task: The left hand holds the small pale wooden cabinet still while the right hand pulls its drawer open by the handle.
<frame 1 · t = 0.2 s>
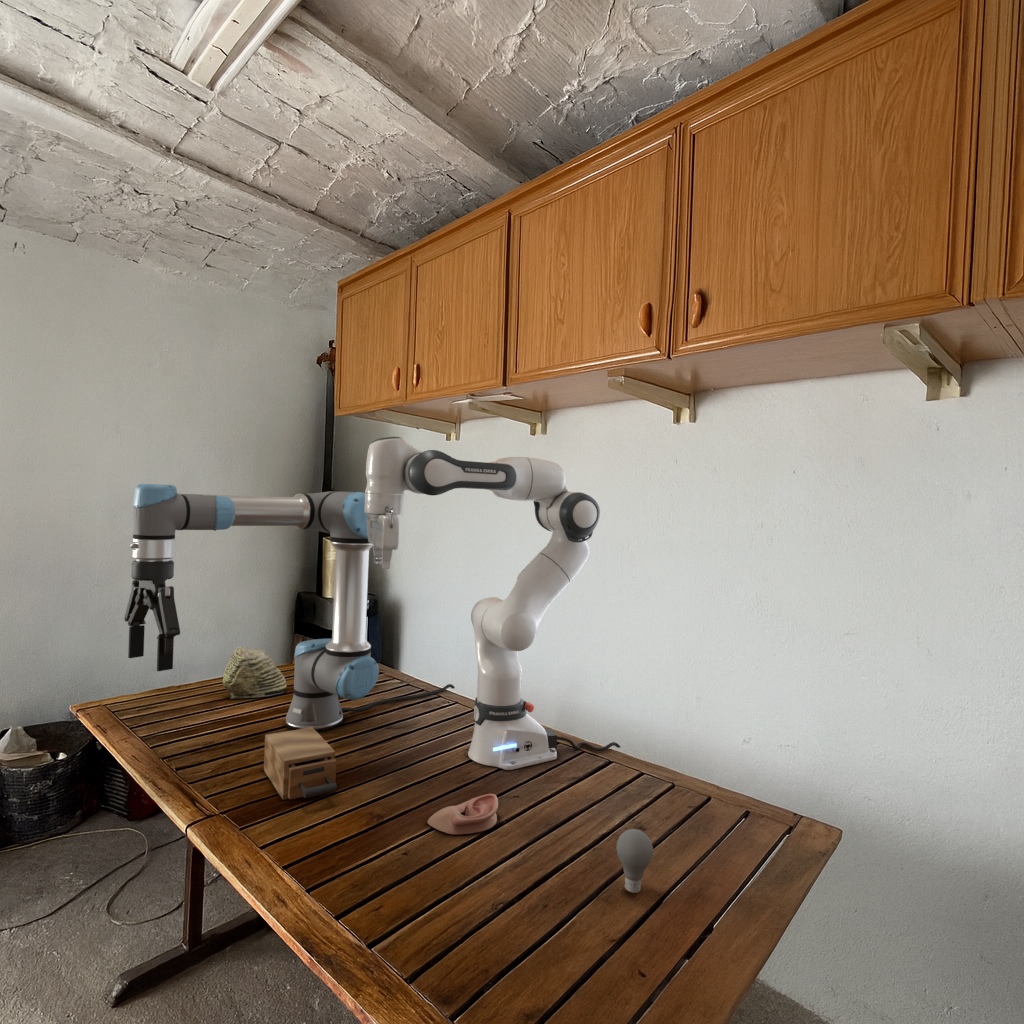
left hand: (149, 663, 129), 28 cm above the table, tool pointing down, fingers open, 13 cm apart
right hand: (381, 566, 147), 48 cm above the table, tool pointing down, fingers open, 8 cm apart
anatomical model: (463, 821, 126), on the table
fossil: (254, 694, 198), on the table
drawer: (306, 770, 137), point 4 cm above the table, slide at 1.4 cm
light bulb: (632, 891, 106), on the table
cabinet: (297, 779, 142), on the table
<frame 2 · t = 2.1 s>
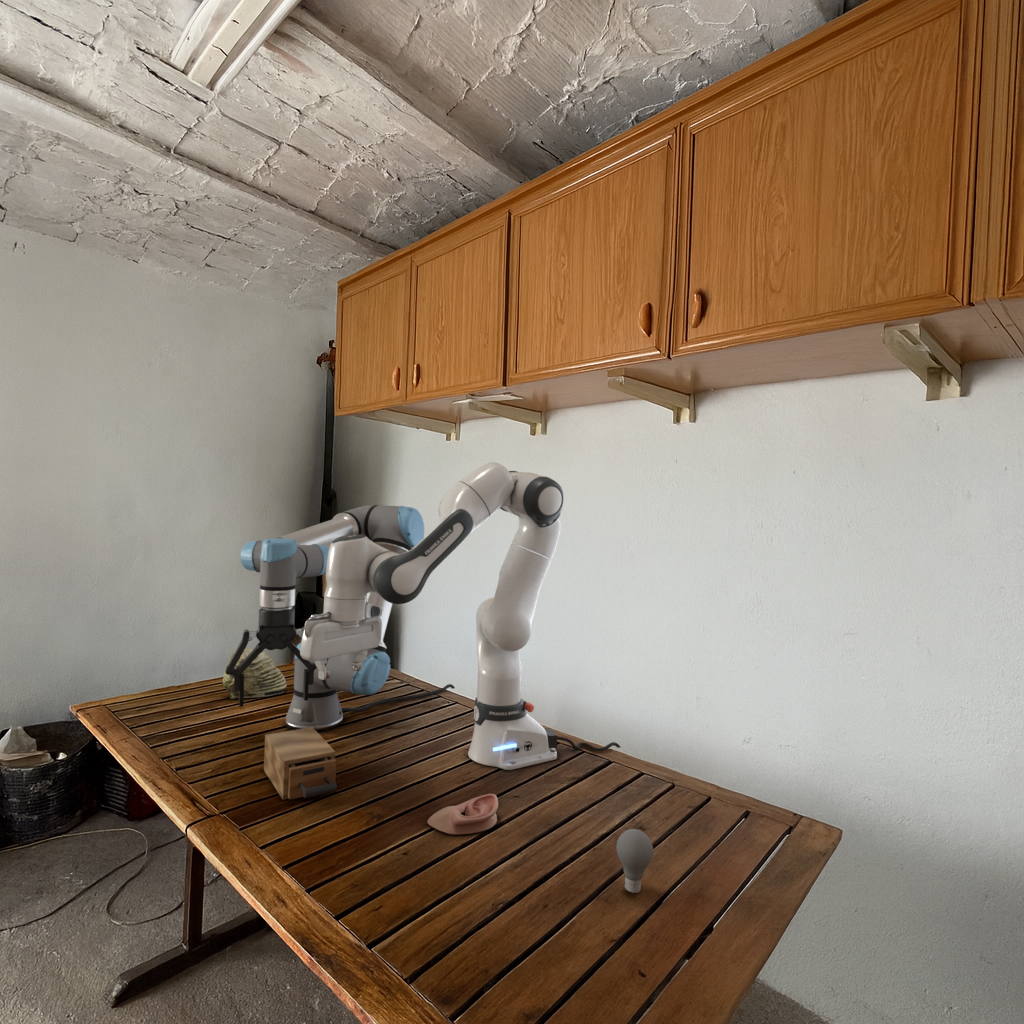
left hand: (273, 701, 142), 17 cm above the table, tool pointing down, fingers open, 13 cm apart
right hand: (340, 674, 136), 25 cm above the table, tool pointing down, fingers open, 8 cm apart
nothing on the table moved.
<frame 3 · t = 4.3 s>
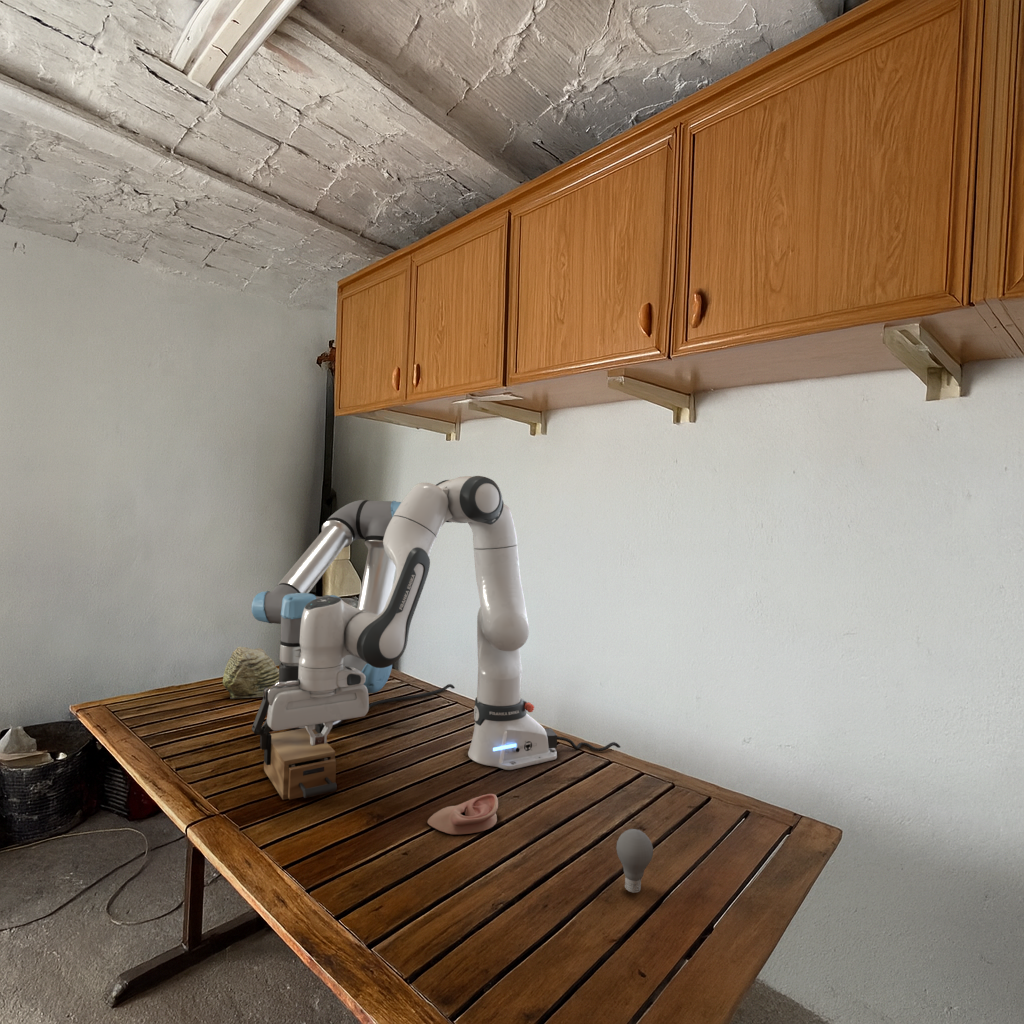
left hand: (293, 757, 145), 3 cm above the table, tool pointing down, fingers closed on cabinet, 11 cm apart
right hand: (318, 743, 130), 13 cm above the table, tool pointing down, fingers closed
cabinet: (297, 779, 142), on the table, touching left hand
everything else where it was.
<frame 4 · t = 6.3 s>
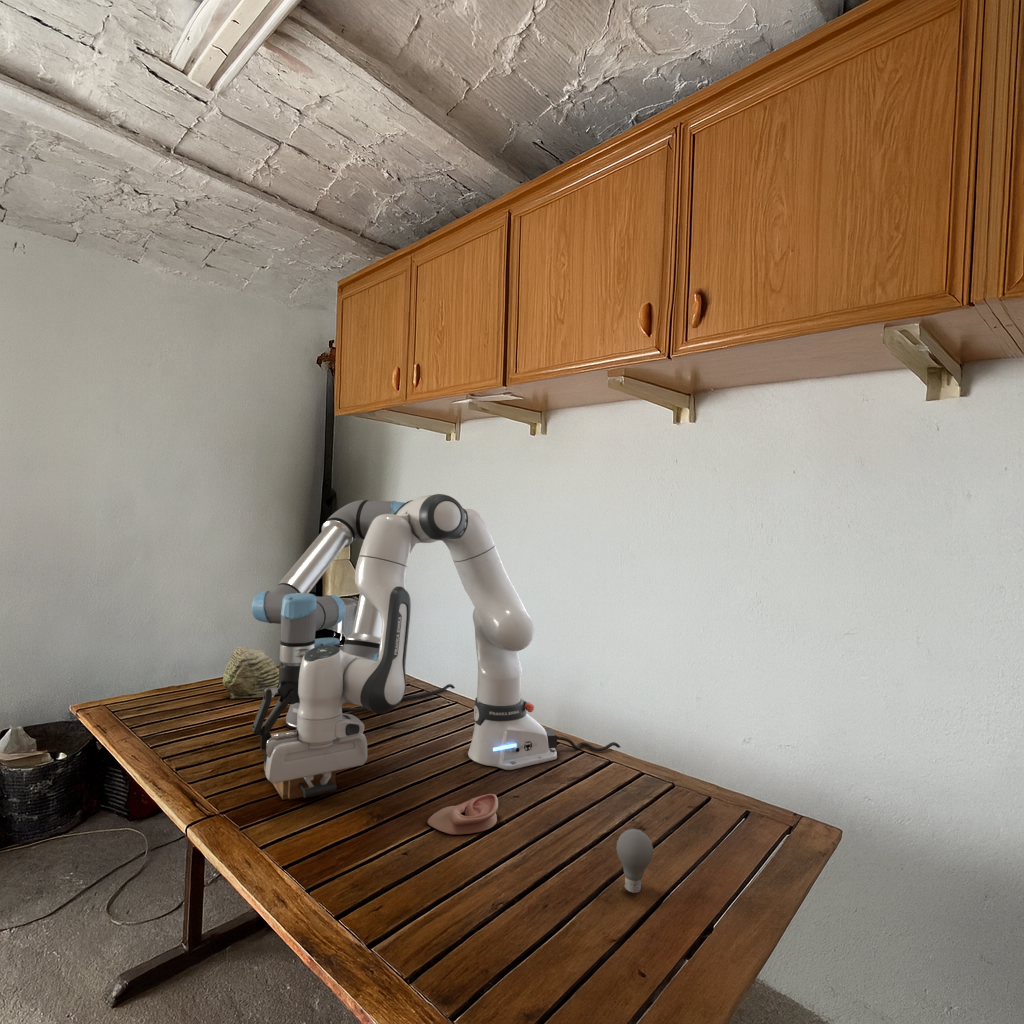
left hand: (293, 757, 145), 3 cm above the table, tool pointing down, fingers closed on cabinet, 11 cm apart
right hand: (316, 793, 130), 2 cm above the table, tool pointing down, fingers closed, pressing on drawer
drawer: (306, 770, 137), point 4 cm above the table, slide at 1.4 cm, touching right hand
cabinet: (297, 779, 142), on the table, touching left hand
everything else where it was.
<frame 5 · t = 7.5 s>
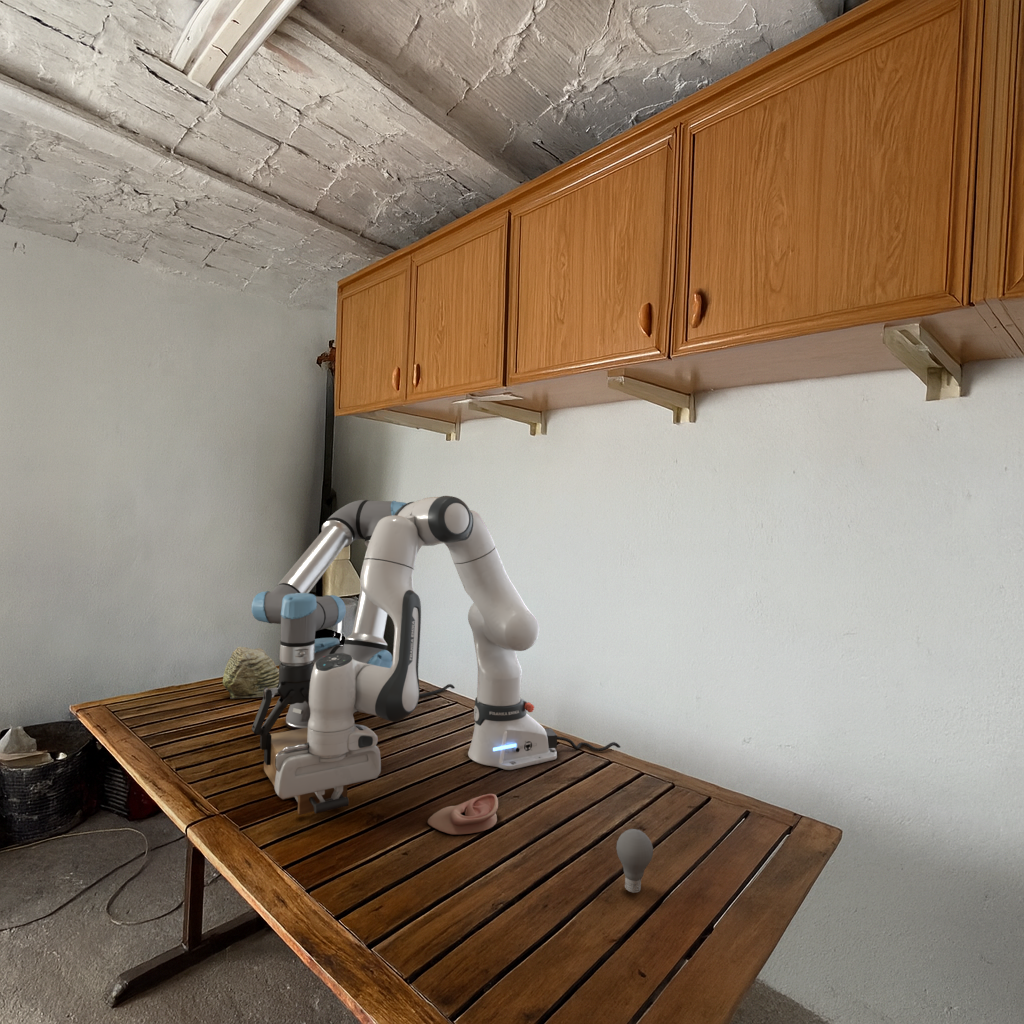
left hand: (293, 757, 145), 3 cm above the table, tool pointing down, fingers closed on cabinet, 11 cm apart
right hand: (328, 808, 124), 2 cm above the table, tool pointing down, fingers closed, pressing on drawer
drawer: (316, 784, 131), point 4 cm above the table, slide at 8.5 cm, touching right hand
cabinet: (297, 779, 142), on the table, touching left hand
everything else where it was.
when the left hand's fingers open (3 cm above the table, at t = 9.2 s): cabinet stays where it is, on the table.
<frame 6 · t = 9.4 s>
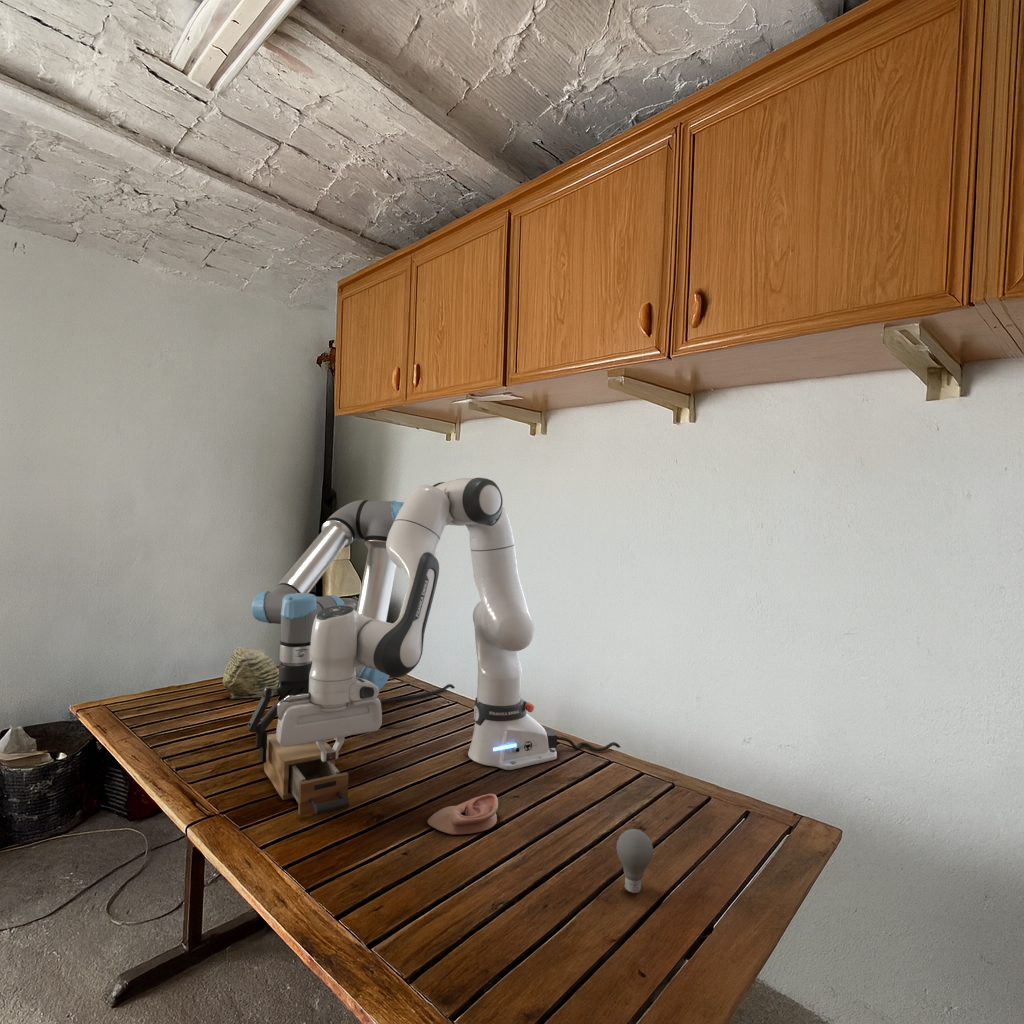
left hand: (293, 755, 145), 4 cm above the table, tool pointing down, fingers open, 13 cm apart
right hand: (329, 759, 125), 12 cm above the table, tool pointing down, fingers closed
drawer: (317, 784, 130), point 4 cm above the table, slide at 8.7 cm
cabinet: (298, 779, 141), on the table
everything else where it was.
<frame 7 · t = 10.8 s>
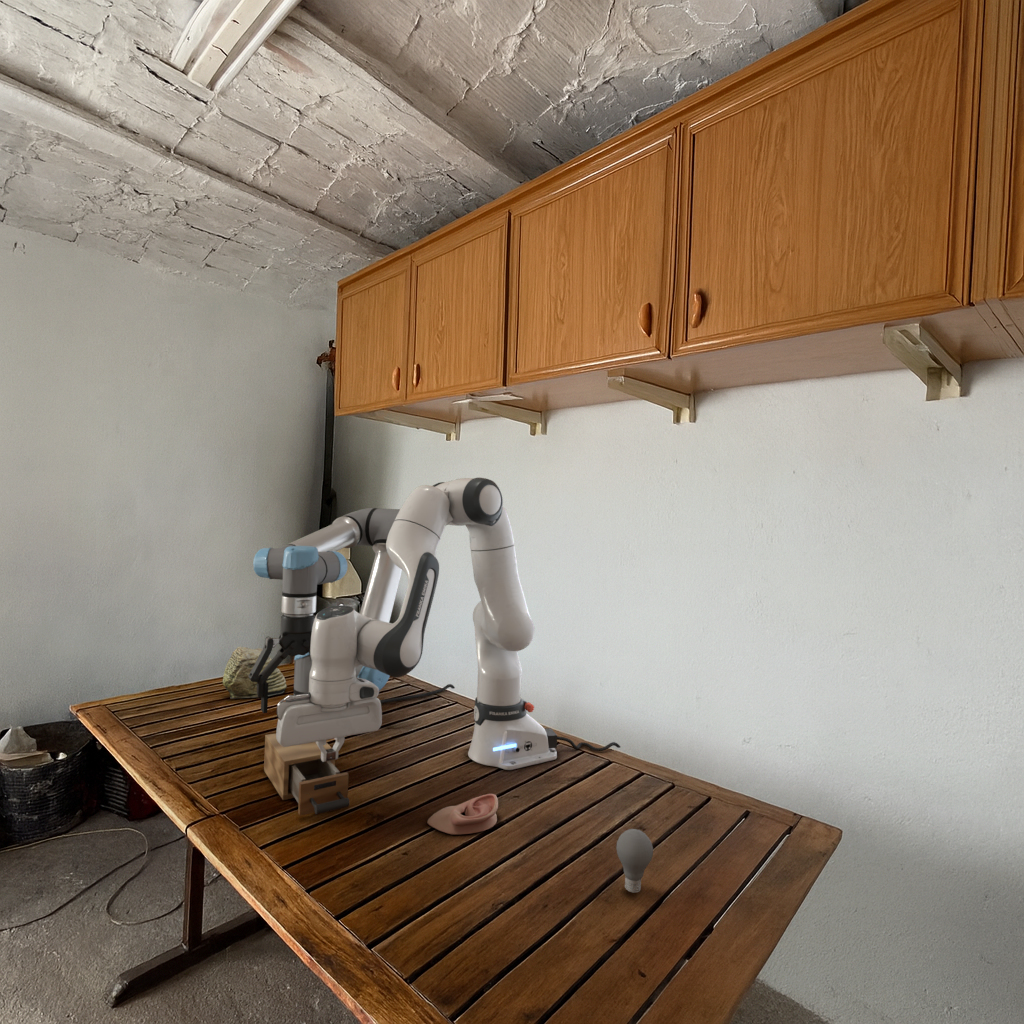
left hand: (295, 706, 144), 15 cm above the table, tool pointing down, fingers open, 13 cm apart
right hand: (329, 759, 125), 12 cm above the table, tool pointing down, fingers closed
nothing on the table moved.
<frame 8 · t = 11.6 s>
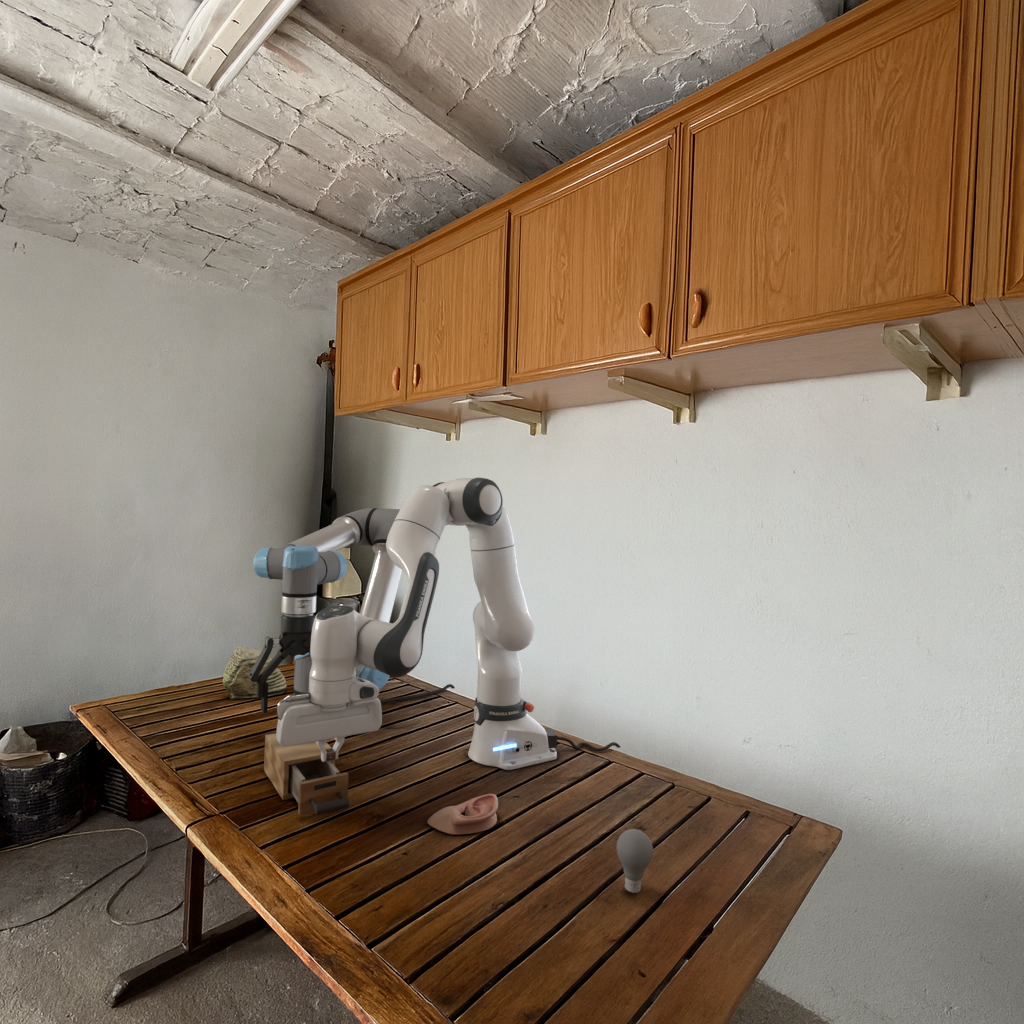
left hand: (295, 706, 144), 15 cm above the table, tool pointing down, fingers open, 13 cm apart
right hand: (329, 759, 125), 12 cm above the table, tool pointing down, fingers closed
nothing on the table moved.
at the end: drawer slide at 8.7 cm; cabinet tilted 0°; cabinet never tilted more than 2° during the clip; cabinet moved 0.2 cm from its start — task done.
